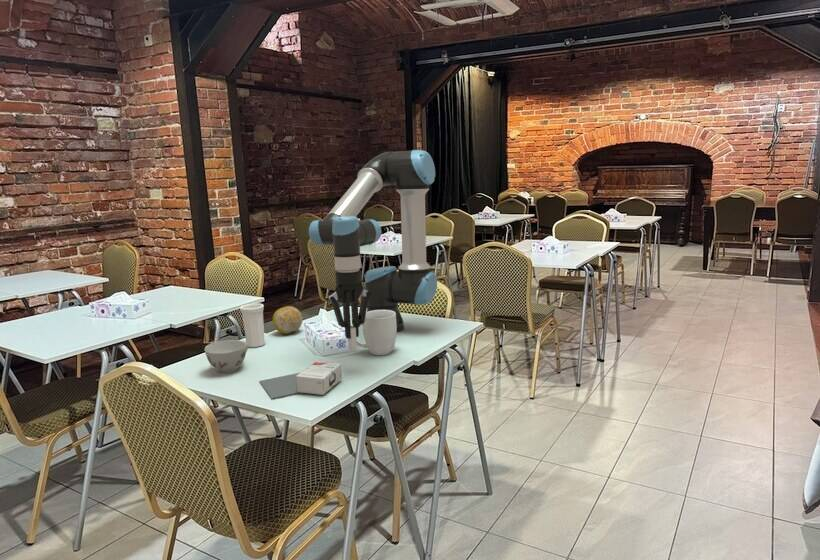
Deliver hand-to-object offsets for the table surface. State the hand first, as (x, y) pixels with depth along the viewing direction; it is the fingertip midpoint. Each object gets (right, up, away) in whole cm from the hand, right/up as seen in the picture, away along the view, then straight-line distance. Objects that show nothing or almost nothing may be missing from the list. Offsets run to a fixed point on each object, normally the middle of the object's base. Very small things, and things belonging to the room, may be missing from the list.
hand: (352, 348), depth 172 cm
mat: (-16, -10, -6) cm, 19 cm away
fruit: (-29, 0, +45) cm, 54 cm away
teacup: (-39, -8, +9) cm, 41 cm away
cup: (-37, -3, +32) cm, 49 cm away
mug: (+6, -4, +19) cm, 20 cm away
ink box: (-6, -6, -4) cm, 10 cm away
